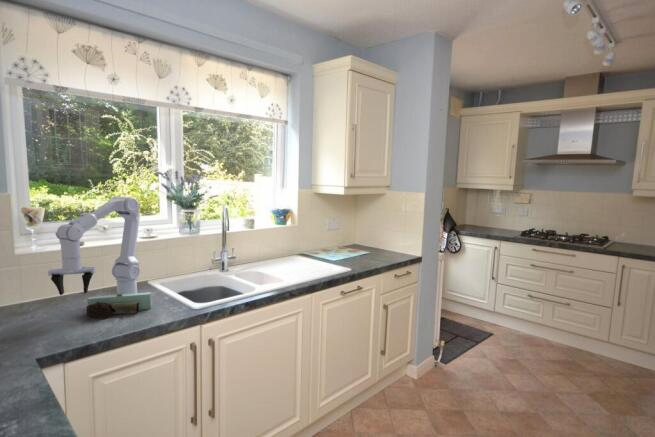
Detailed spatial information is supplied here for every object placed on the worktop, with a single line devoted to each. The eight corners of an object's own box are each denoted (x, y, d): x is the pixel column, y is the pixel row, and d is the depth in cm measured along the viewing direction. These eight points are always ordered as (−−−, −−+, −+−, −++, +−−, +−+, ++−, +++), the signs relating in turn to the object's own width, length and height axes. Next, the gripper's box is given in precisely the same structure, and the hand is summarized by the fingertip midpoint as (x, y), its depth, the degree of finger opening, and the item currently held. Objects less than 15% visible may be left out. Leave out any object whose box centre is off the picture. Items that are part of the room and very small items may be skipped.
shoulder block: (90, 311, 147) (89, 294, 146) (151, 306, 153) (151, 290, 153) (88, 314, 144) (87, 297, 143) (150, 308, 151) (150, 292, 150)
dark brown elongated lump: (139, 310, 149) (139, 297, 148) (135, 317, 143) (135, 303, 142) (89, 314, 144) (88, 300, 144) (83, 321, 138) (82, 306, 137)
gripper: (43, 260, 130) (46, 298, 132) (90, 258, 135) (93, 294, 137) (51, 256, 137) (54, 292, 139) (96, 254, 142) (98, 289, 143)
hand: (73, 293), depth 138 cm, fingers open, 7 cm apart
